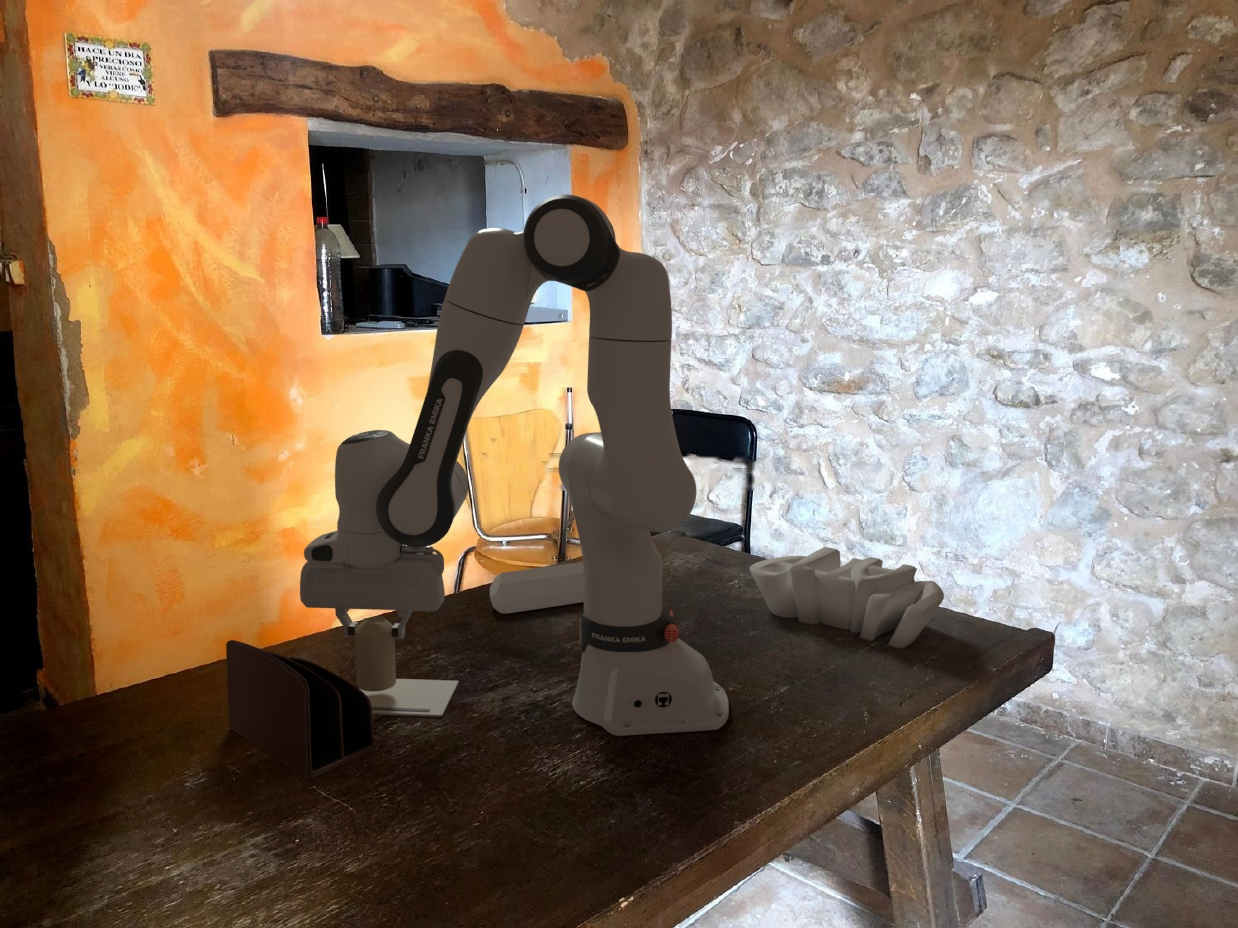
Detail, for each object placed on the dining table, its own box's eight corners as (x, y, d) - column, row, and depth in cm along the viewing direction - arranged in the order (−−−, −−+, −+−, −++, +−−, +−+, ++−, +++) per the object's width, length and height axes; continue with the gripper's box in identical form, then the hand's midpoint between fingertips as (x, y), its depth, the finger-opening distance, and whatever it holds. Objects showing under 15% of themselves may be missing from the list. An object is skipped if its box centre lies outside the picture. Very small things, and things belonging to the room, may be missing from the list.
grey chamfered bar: (600, 565, 192) (481, 581, 182) (613, 557, 185) (490, 573, 176) (607, 602, 190) (487, 621, 180) (621, 595, 184) (497, 614, 174)
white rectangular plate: (458, 682, 149) (458, 680, 149) (442, 716, 138) (441, 714, 138) (367, 679, 150) (367, 677, 150) (344, 713, 139) (343, 710, 139)
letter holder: (308, 782, 122) (301, 676, 119) (228, 730, 134) (220, 633, 131) (376, 752, 129) (371, 651, 126) (294, 705, 142) (287, 613, 139)
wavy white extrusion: (961, 634, 169) (966, 576, 167) (919, 664, 157) (924, 602, 155) (786, 587, 192) (789, 535, 189) (737, 610, 180) (740, 554, 177)
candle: (384, 694, 140) (382, 627, 138) (350, 689, 141) (347, 623, 139) (402, 678, 145) (400, 614, 143) (369, 674, 147) (366, 610, 145)
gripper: (448, 539, 142) (451, 630, 145) (308, 536, 143) (314, 625, 146) (438, 553, 135) (441, 647, 138) (292, 549, 136) (298, 642, 139)
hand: (375, 636), depth 142 cm, fingers closed on candle, 5 cm apart
